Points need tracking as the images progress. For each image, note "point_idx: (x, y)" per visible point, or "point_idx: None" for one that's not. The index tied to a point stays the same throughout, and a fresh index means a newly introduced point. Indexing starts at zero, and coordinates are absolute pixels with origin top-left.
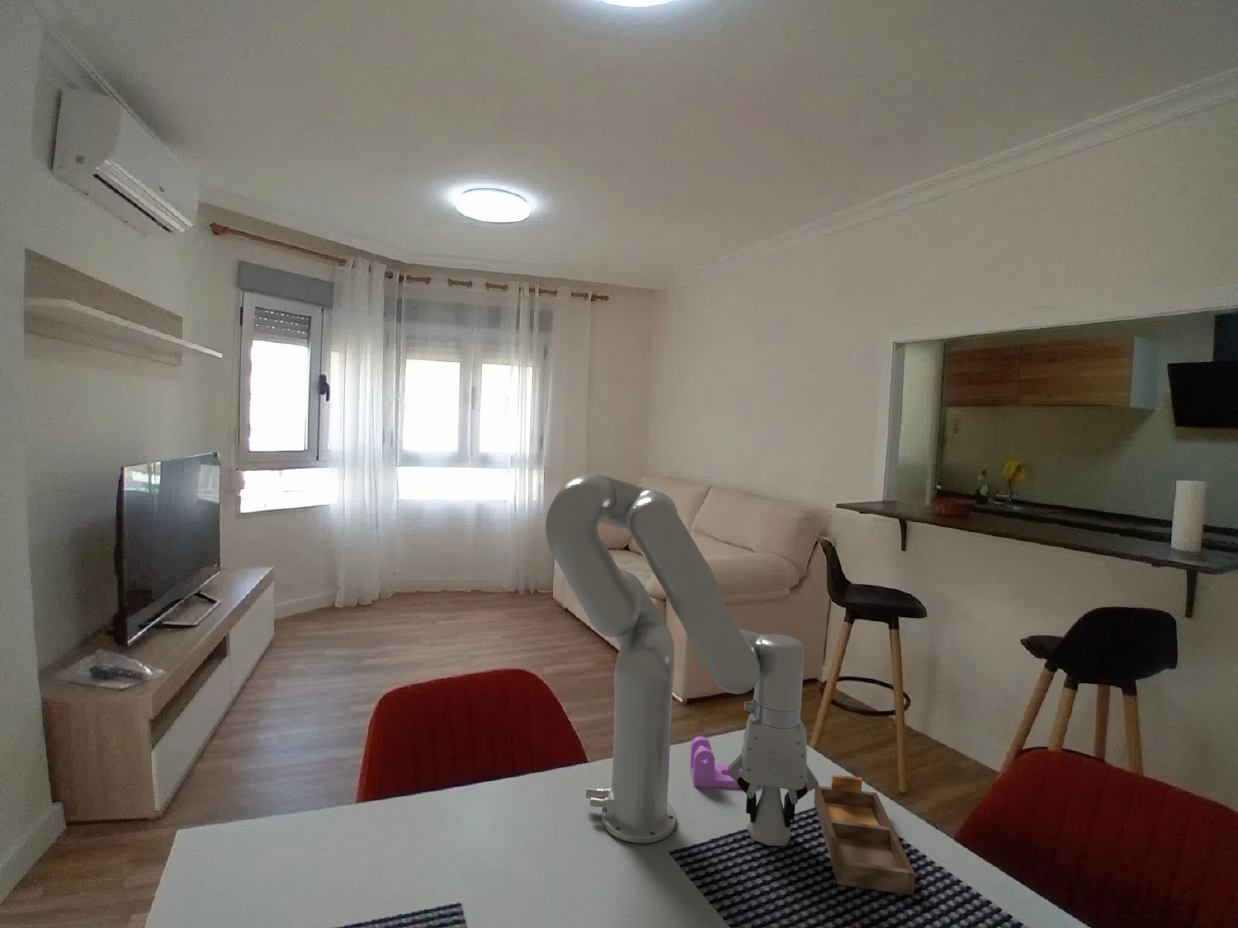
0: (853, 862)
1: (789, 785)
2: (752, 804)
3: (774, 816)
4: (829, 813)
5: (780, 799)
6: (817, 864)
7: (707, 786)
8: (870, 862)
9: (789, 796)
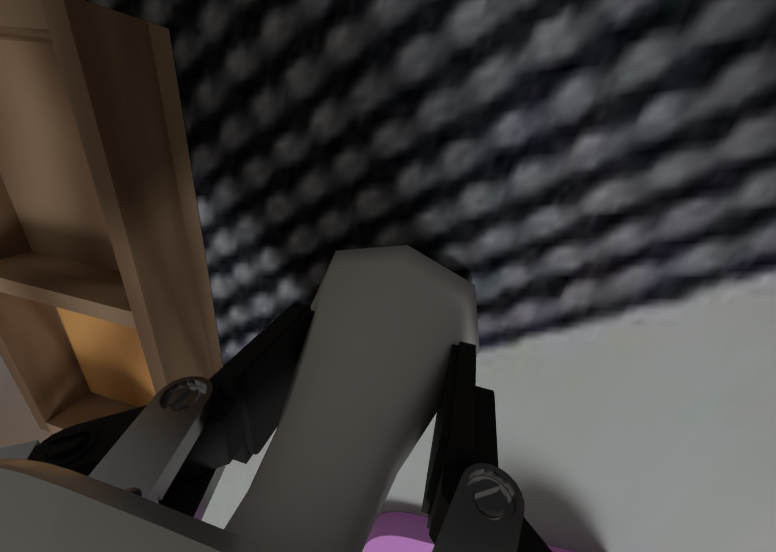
0: (7, 17)
1: (20, 526)
2: (471, 417)
3: (348, 336)
4: None
5: (279, 424)
6: (238, 153)
7: (555, 547)
8: (60, 156)
9: (192, 424)
